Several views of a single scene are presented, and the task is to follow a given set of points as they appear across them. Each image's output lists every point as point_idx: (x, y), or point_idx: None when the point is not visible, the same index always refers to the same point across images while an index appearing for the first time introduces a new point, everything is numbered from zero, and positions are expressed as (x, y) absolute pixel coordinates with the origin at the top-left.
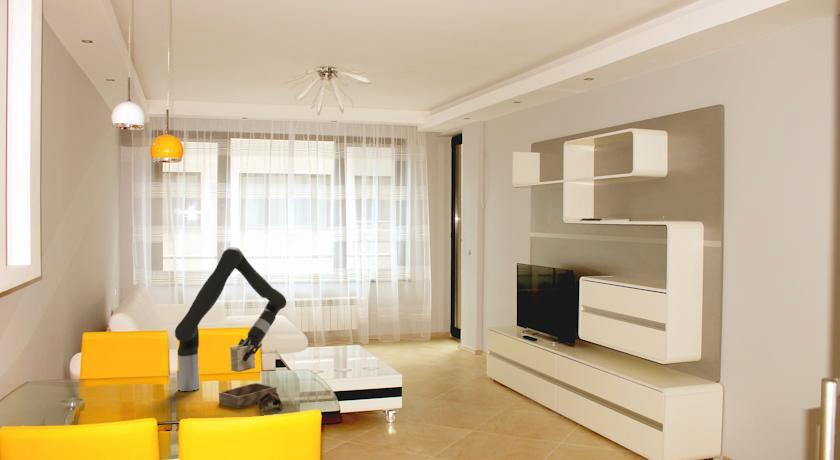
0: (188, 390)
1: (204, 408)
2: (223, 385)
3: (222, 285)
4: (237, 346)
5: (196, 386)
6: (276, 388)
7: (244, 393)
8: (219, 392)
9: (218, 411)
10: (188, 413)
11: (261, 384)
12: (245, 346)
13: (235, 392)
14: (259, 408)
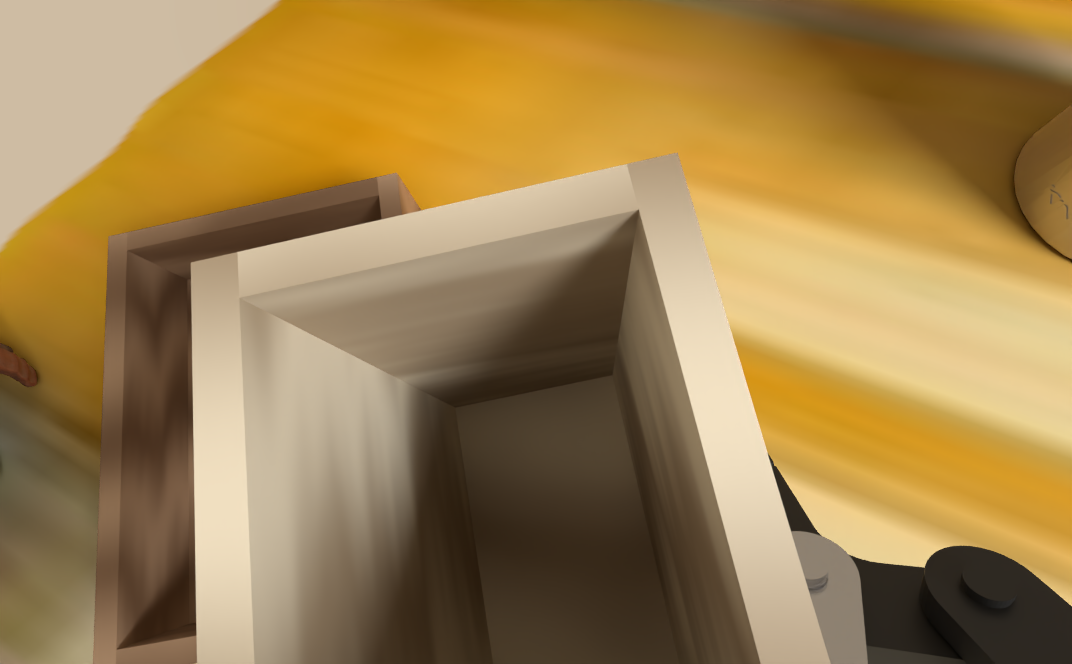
0: (1025, 154)
1: (402, 108)
2: (1068, 498)
3: None
4: (705, 479)
5: (1058, 212)
6: None
7: None
8: (394, 177)
9: (256, 151)
10: (378, 7)
11: None
12: (223, 656)
13: None
14: (21, 358)
